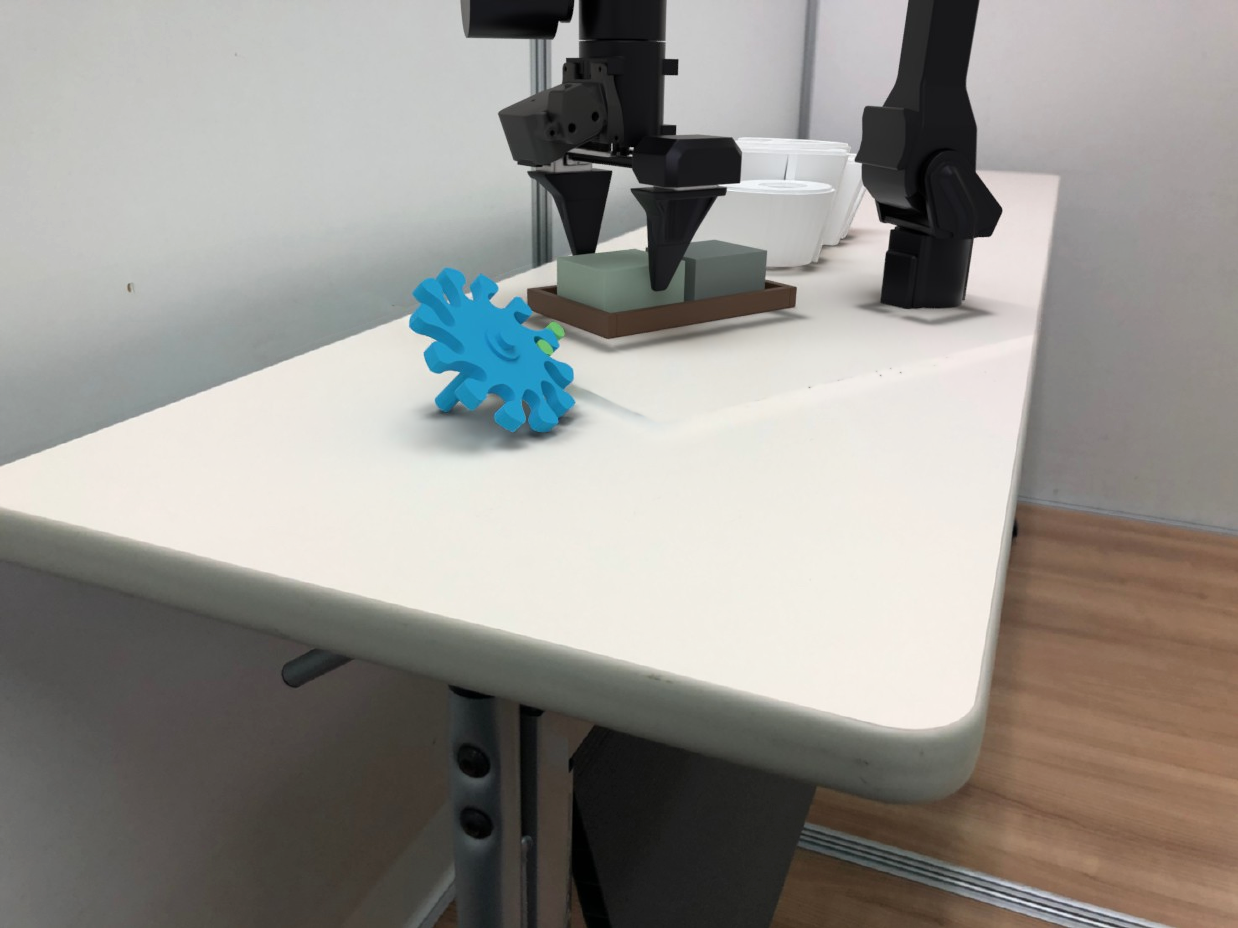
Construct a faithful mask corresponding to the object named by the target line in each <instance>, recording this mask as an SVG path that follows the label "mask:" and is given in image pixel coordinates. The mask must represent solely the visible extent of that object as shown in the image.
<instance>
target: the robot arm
mask: <svg viewBox="0 0 1238 928" xmlns="http://www.w3.org/2000/svg"><path fill="white" fill-rule="evenodd" d="M459 2H460V13H461V23H462V29H463V33H464V37H465V38H466V39H492V40H493V39H497V40H499V39H501V40H541V41H542V40H543V41H545V40H546V41H548V40H550V41H552V40H554V39H555V38H556V36H557V35H556V34H557V33H558V27H559V23H560V24H570V23H571V21H572V19H573V14H574V9H575V2H576V1H575V0H459ZM980 2H981V0H907V7H906V14H905V21H904V26H903V27H904V28H903V35H902V42H901V47H900V55H899V61H898V69H897V75H896V79H895V81H894V85H893V87H892V88H891V90H890V92H889V94H888V95H887V97H886V99H885V101H884V102H883V105H882V106H880V105H879V106H878V105H865V106H864V108H863V112H862V117H861V128H862V129H861V141H860V144H859V148H858V151H857V153H856V154H857V155H856V157H855V159H854V161H855V162H856V163H862V182H863V185H864V187H866V189H867V190H866V191H867V192H868V193H869V195H870V196H871V197H872V198H873V199H874V203H875V207H876V208H875V209H876V212H877V216H878V221H879V223H882V224H889V225H893V226H894V228H893V229H892V228H891V229H890V230H889V237H888V244H887V245H888V247H887V250H886V251H885V255H884V264H883V273H882V281H881V289H880V298H879V299H880V300H879V303H880V304H882V305H887V306H892V307H896V308H900V309H905V310H919V309H920V310H921V309H952V308H956V307H959V306H962V304H963V301H965V300H966V295H967V288H968V281H969V275H970V268H971V263H972V254H973V249H974V248H973V247H974V241H975V239H977V238H990V237H992V236H993V235H994V232H995V230H996V227H997V225H998V223H999V222H1000V219H1001V217H1002V215H1003V206H1001V204H1000V203H999V201H998V200H997V199H996V197H995V196H994V194H993V193H992V192H991V190H990V189H989V187H987V185H986V184H985V183H984V181H983V180H982V178H981V177H980V176H979V174H978V172H977V161H978V160H977V156H978V155H977V154H978V125H977V121H976V117H975V114H974V109H973V107H972V102H971V99H970V96H969V92H968V87H967V79H968V74H969V68H970V67H969V66H970V61H971V54H972V49H973V44H974V43H973V42H974V36H975V31H976V27H977V26H976V25H977V19H978V14H979V9H980V8H979V7H980ZM667 3H668V1H667V0H578V40H579V41H578V57H565V62H564V63H563V64H562V68H561V69H562V70H561V72H562V75H561V76H562V80H561V83H559V84H557V85H555V86H553V87H549V88H547V89H543V90H541V91H539V92H536V93H535V94H532V95H530V96H528V97H526V98H523V99H522V100H520V101H517V102H515V103H513V104H510V105H508V106H506V107H503V108H502V109H500V110H499V111H498V112H497V115H498V119H499V121H500V124H501V128H502V130H503V133H504V136H505V139H506V142H507V145H508V149H509V152H510V154H511V157H512V160H513V161H514V162H516V165H518V166H522V167H523V166H524V167H530V168H535V170H527V171H526V174H527V175H528V177H529V178H530V179H532V180H535V181H536V182H537V183H539V184H540V186H542V187H543V188H544V189H545V190H546V192H548V193H549V194H550V195H551V197H552V199H553V201H554V204H555V206H556V210H557V212H558V214H559V217H560V220H561V224H562V227H563V231H564V234H565V237H566V240H567V242H568V243H567V244H568V246H569V248H570V252H571V256H574V255H583V254H592V253H597V247H598V243H599V238H600V233H601V228H602V224H603V220H604V214H605V210H606V206H607V200H608V196H609V191H610V187H611V183H612V177H613V169H612V170H611V169H604V168H597V167H593V164H595V165H604V166H612V167H618V168H626V169H631V171H632V172H633V175H634V176H635V178H636V181H637V182H638V184H641V185H647V186H646V187H643V186H642V187H631V188H630V189H629V190H630V193H631V194H632V195H633V197H634V198H635V199H636V201H637V202H638V203H639V205H640V206H641V208H642V209H643V210H644V212H645V216H646V236H647V237H646V238H647V239H646V240H647V247H648V262H649V275H650V283H651V289H652V290H653V291H656V292H658V291H664V290H666V289H667V288H668V286H669V284H670V282H671V280H672V278H673V276H674V274H675V272H676V270H677V268H678V266H679V264H680V262H681V260H682V258H683V256H684V254H685V252H686V250H687V248H688V246H689V244H690V242H691V241H692V239H693V237H694V235H695V233H696V231H697V230H698V228H699V226H700V225H701V223H702V221H703V220H704V218H705V216H706V215H707V213H708V212H709V210H710V208H711V207H712V205H713V203H714V202H715V200H716V199H717V197H718V196H725V195H726V193H727V187H724V186H718V185H724V184H738V183H740V182H741V165H742V151H741V150H740V148H739V147H738V145H737V144H736V142H735V141H736V140H735V139H734V138H733V137H732V136H731V137H730V136H720V135H711V134H696V133H695V134H677V124H668V123H664V119H665V118H664V117H665V116H664V115H665V87H666V86H665V83H666V81H665V80H666V76H679V61H680V59H679V58H666V49H667V48H666V46H667V45H666V44H667V42H666V41H667V38H666V37H667V6H668V5H667Z"/></svg>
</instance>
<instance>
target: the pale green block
mask: <svg viewBox="0 0 1238 928" xmlns="http://www.w3.org/2000/svg"><path fill="white" fill-rule="evenodd" d="M684 280H685V261H683V260H681V262H680V264H679V266H678V268H677V270H676V272H675V274H674V276H673V278H672V280H671V282H670V284H669V286H668V288H667V289H666V290H664V291H658V292H656V291H653V290H652V289H651V283H650V275H649V262H648V252H646V251H645V250H643V249H642V250H641V249H637V248H630V249H622V250H621V249H620V250H612V251H610V250H609V251H603V252H602V251H601V252H595V253H592V254H583V255H574V256H572V255H566V256H558V257H556V285H557V295H558V296H561V297H564V298H567V299H570V300H573V301H576V302H579V303H582V304H585V305H588V306H591V307H594V308H597V309H600V310H603V311H606V312H609V313H614V312H621V311H627V310H634V309H640V308H647V307H653V306H660V305H666V304H673V303H679V302H684Z"/></svg>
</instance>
